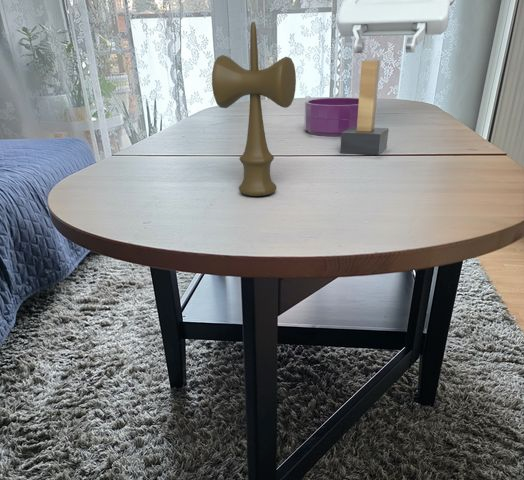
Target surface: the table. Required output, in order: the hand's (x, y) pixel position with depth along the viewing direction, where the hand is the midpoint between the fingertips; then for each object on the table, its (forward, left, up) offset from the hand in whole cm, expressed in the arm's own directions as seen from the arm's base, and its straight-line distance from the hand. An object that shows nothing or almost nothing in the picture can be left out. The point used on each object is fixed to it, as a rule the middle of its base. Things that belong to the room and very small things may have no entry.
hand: (383, 50), depth 92 cm
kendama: (+25, +35, -16) cm, 46 cm away
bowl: (+5, -14, -16) cm, 22 cm away
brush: (+4, +8, -16) cm, 18 cm away
